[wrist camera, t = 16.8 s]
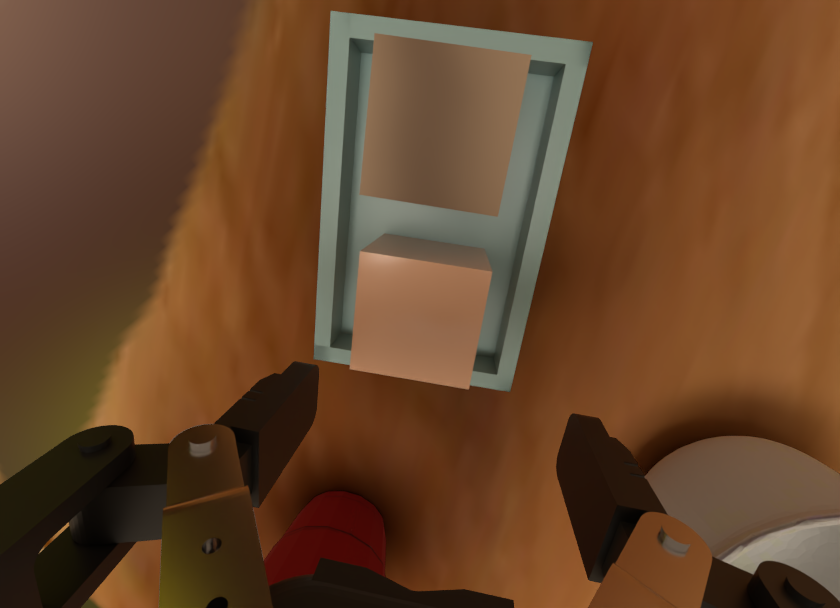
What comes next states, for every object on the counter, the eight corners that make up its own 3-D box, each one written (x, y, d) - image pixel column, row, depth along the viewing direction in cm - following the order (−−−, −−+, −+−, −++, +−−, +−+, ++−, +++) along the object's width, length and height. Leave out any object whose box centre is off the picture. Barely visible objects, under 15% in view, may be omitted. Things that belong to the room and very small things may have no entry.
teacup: (576, 457, 23) (634, 595, 15) (768, 370, 20) (955, 487, 13) (678, 607, 26) (769, 788, 18) (858, 550, 23) (1054, 733, 15)
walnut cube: (511, 90, 17) (531, 54, 12) (487, 207, 18) (497, 216, 14) (398, 73, 17) (374, 32, 12) (385, 190, 19) (359, 194, 14)
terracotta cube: (466, 340, 21) (468, 389, 16) (374, 325, 21) (349, 369, 16) (484, 248, 19) (492, 271, 14) (384, 233, 19) (359, 251, 14)
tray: (574, 61, 17) (592, 42, 14) (504, 368, 21) (510, 391, 19) (348, 33, 17) (330, 10, 15) (329, 339, 22) (313, 358, 20)
